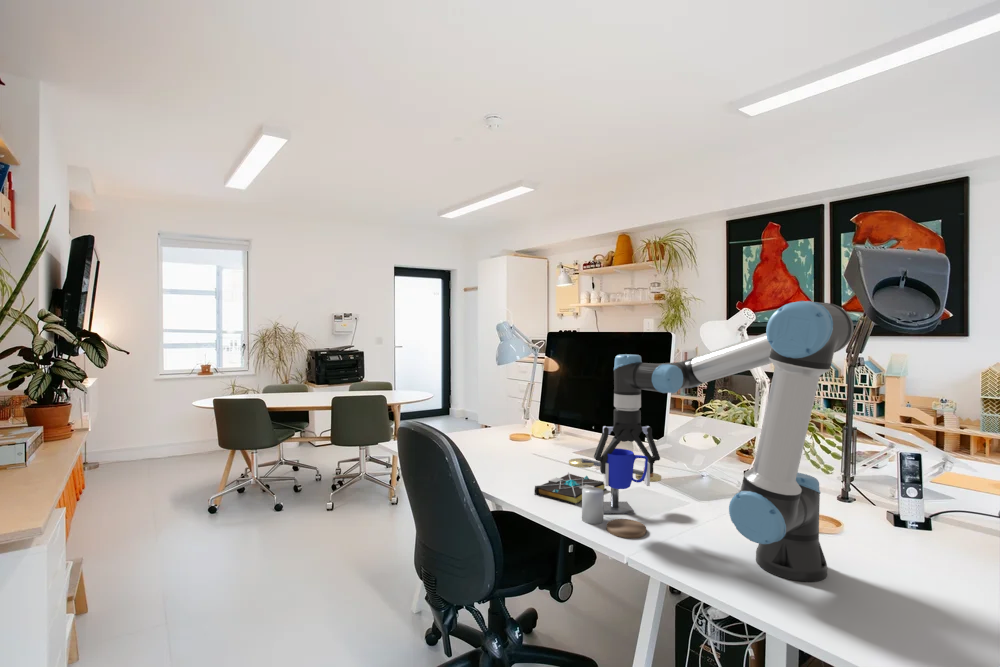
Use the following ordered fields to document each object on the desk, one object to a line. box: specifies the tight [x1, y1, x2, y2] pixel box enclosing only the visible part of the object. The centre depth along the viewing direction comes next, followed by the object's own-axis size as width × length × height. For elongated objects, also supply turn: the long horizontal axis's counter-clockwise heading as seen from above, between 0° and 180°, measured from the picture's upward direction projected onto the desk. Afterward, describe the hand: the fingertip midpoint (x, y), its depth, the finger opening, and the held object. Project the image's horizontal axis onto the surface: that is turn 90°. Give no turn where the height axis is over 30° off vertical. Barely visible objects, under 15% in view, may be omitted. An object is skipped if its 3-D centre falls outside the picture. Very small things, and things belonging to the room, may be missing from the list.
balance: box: [568, 457, 662, 515], centre depth 164 cm, size 8×30×16 cm, turn 92°
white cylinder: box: [581, 487, 605, 525], centre depth 155 cm, size 6×6×9 cm
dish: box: [606, 518, 647, 539], centre depth 147 cm, size 11×11×1 cm
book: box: [533, 471, 607, 506], centre depth 181 cm, size 22×17×5 cm
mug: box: [606, 448, 648, 490], centre depth 147 cm, size 8×12×10 cm
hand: (626, 484), depth 147 cm, fingers closed on mug, 11 cm apart
